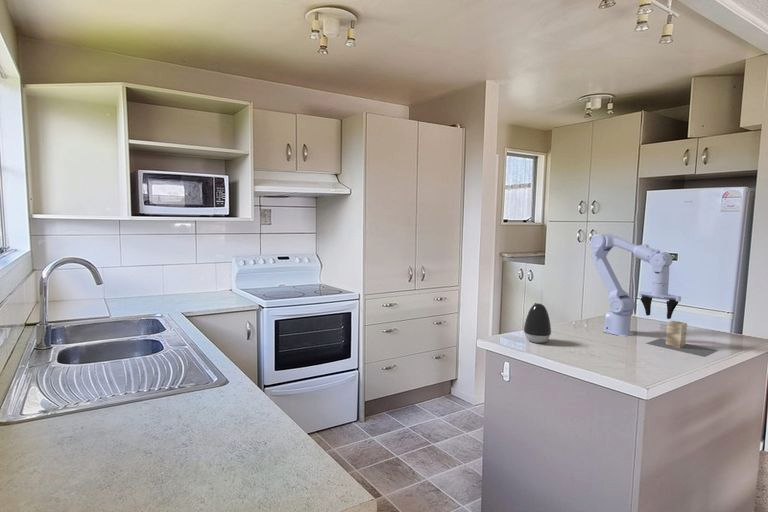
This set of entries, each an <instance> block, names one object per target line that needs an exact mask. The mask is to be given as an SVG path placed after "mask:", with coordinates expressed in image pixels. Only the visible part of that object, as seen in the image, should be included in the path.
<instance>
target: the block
mask: <svg viewBox="0 0 768 512" xmlns="http://www.w3.org/2000/svg"><path fill="white" fill-rule="evenodd" d="M687 328H688V323H687V322H682V321H681V322H680V321H677V320H671V321H668V322H667V323H666V335H665V337H666V338H665V339H666V345H668V346H672V347H677V348H682V347H684V346H685V343H686V340H687Z"/></svg>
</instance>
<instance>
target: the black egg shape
mask: <svg viewBox="0 0 768 512" xmlns="http://www.w3.org/2000/svg"><path fill="white" fill-rule="evenodd" d="M551 325H552V324H551V320H550V315H549V312H548V309H547V308H546V307H545V305H544V304H542V303H537V302H536V303H534V304H533V305H532V306H531V307H530V309H529V310H528V313H527V315H526V318H525V322H524V326H523V332H524V335H525V337H526V339H527V340H528V341H530V342H532V343H534V344H543V343H546V342H547V341H548V340H549V338H550V337H551V335H552V327H551Z"/></svg>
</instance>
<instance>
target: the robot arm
mask: <svg viewBox="0 0 768 512" xmlns="http://www.w3.org/2000/svg"><path fill="white" fill-rule="evenodd" d="M588 245H589V246H590V251H591V259H592V261H593V263H594V266H595V267H596V269H597V271H598V274H599V275H600V277H601V279H602V281H603V284H604V286H605V288H606V289H607V292H608V293H609V294H608V296H607V300H608V303H609V309H610V310H611V311H607V312H606V313H605V317H604V327H603V328H604V329H603V331H602V332H603V333H606V334H611V335H616V336H620V337H621V336H622V337H629V336H631V335H634V334H635V333H634V332H631V323H632V321H631V320H632V311H633V310H634V309H635V308H636V302H635V300H634V299H633V298H632V297H630V295H629V293H628V292H626V291H625V290H624V289H623V288H622V285H621V284H620V282H619V280H618V278H617V275H616V274H615V272H614V270H613V268H612V266H611V264H610V262H609V260H608V257H607V256H608V254H609V252H610V251H611V250H612V249H613V248H614V247H618V248H619V249H623V250H625V251H627V252H631V253H633V255H634V257H635V258H637V259H639V260H642V261H643V262H646V263H648V264H650V265H651V269H652V270H651V271H652V272H651V287H650V288H651V291H650V292H649V291H639V292H638V297H639V298H640V301H641V303H642V305H643V307H644V311H645V315H646V316H651V309H652V308H651V307H652V306H651V305H652V301H653V299H657V300H666V319H667V320H670V319H672V315H673V313H674V310H675V309H676V307H677V305H679V303H680V302H681V301H682V296H680V295H674V294H671V293H670V294H669V282H670V267H671V265H672V263H673V256H672V255H671V254H669V252H667V251H665V252H664V251H663V252H661V250H660V249H654V248H652V247H650V246H649V245H648V243H647V244H638V245H637V244H634V243H633V242H630V241H628V240H626V239H624V238H621V237H619V236H617V235H614V234H612V233H606V234H604V233H603V234H600V233H597V234H594V235H593V236H592V237H591V239H590V242H589V244H588Z"/></svg>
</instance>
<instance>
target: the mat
mask: <svg viewBox="0 0 768 512" xmlns="http://www.w3.org/2000/svg"><path fill="white" fill-rule="evenodd" d="M645 344H647V345H651V346H655V347H660V348H664V349H668V350H672V351H675V352H676V351H677V352H679V353H680V352H681V353H686V354H689V355H694V356H699V357H707V356H710V355H712V354H715V353H717V352H718V351H719V349H718V350H717V349H713V348H709V347H705V346H699V345H695V344H690V343H686V342H685V346H684V347H682V348H677V347H672V346H668V345H666V338H663V337H660V338H657V339H653V340H652V341H649V342H645Z"/></svg>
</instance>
